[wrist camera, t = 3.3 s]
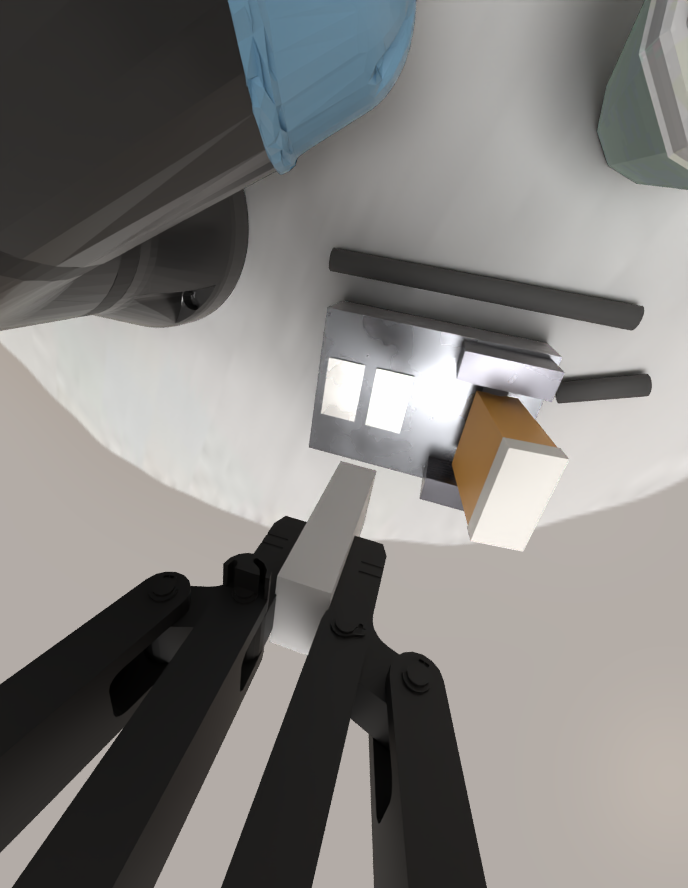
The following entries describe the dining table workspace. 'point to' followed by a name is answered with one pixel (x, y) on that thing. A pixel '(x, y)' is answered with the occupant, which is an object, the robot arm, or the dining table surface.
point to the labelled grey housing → (416, 389)
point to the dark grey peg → (604, 388)
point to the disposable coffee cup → (650, 99)
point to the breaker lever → (504, 470)
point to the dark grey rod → (488, 289)
